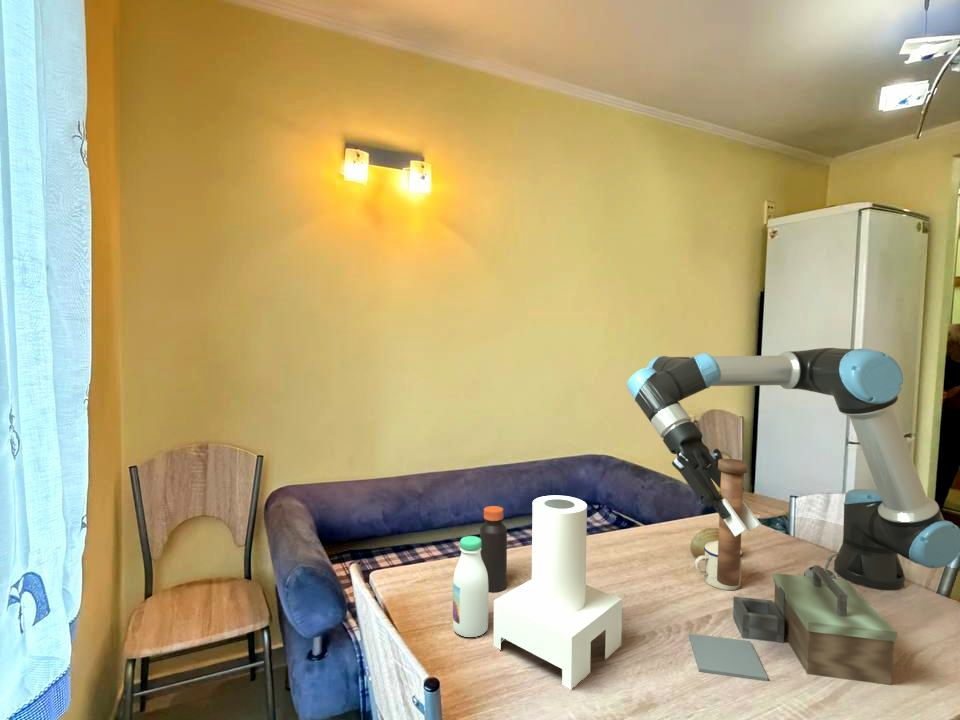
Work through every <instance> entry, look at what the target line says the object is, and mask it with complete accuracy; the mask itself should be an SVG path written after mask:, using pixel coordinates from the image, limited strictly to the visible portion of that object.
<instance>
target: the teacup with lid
mask: <svg viewBox="0 0 960 720" xmlns="http://www.w3.org/2000/svg"><path fill="white" fill-rule="evenodd" d="M704 550H705V555H702V556H699V557H698V558H695V561H694V567H695V571H697V573H698V574H700V575H702V576H703V577H704V578H703V579H704V581H705V583H706V584H708V585H709V586H711V587H713V588H716V589H719V590H723V591H735V590H738V589H740V588H741V585H742V559H743V555H744V553H743V551H742V549H741V552H740V576H739V585H737V586H727V585H724V584H721V583H720V582H718V581H717V565H718V541H713V542H708V543H707V544H706V545H705V547H704ZM703 560H704V570H703V571H702V570H701V569H700V562H702V561H703Z"/></svg>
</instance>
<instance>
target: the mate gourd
mask: <svg viewBox="0 0 960 720" xmlns="http://www.w3.org/2000/svg"><path fill="white" fill-rule="evenodd" d="M838 552H839V551H838ZM838 552H835V553H832V554H831V555H829V556H828V557H827V558H826V559H827V561H826V564H825V566H824V567H822V566H820V567H821V568H822V569H823V570H824V571H825V572H826V573H827V574H828V575H829V576H830V577H831V578H832V579H838V578H837V577H836V574H835V573H834V572H833V571H832V570H830V569H828V568H829V566H830V563H831V562H832V561H833V558H834V557H836V556H837V555H838V554H840V552H839V553H838ZM803 576H809V577H813V566H809V567H808V568H807V569H806V570H805V571H804V574H803Z"/></svg>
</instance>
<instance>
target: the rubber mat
mask: <svg viewBox="0 0 960 720" xmlns="http://www.w3.org/2000/svg"><path fill="white" fill-rule="evenodd" d="M688 639H689V642H690V645H691V649H692V653H693V656H694V660H695V663H696V666H697V669H698V672H700V673H707V674H715V675H722V676H729V677H736V678H742V679H743V678H744V679H749V680H756V681H758V680H759V681H765V682H768V680H769V678H768V676H767V673H766V672H765V669H764V667H763V665H762V662H761V661H760V658H759V657H758V654H757V653H756V651H755V649H754V646H753V644H752V642H751V640H744V639H736V638H730V637H729V638H727V637H722V636H721V637H719V636H713V635H705V634H703V635H702V634H695V633H688Z"/></svg>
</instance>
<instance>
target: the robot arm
mask: <svg viewBox="0 0 960 720" xmlns="http://www.w3.org/2000/svg"><path fill="white" fill-rule="evenodd" d="M903 382H904V374H903V371H902V369H901V366H900V365H899V364H898V362H897V361H896V360H895V359H894V358H893V357H892V356H890V355H889V354H887V353H885V352H883V351H879V350H873V349H869V348H838V347H824V348H814V349H805V350H795V351H783V352H781V353H780V354H779V355H728V356H727V355H726V356H725V355H722V356H718V355H717V356H715V355H714V356H712V355H711V354H709V353H707V352H703V353H699V354H698V355H692V356H668V355H661V356H656V357H654V358H652V359H651V360H650V361H649V363H648V364H647V367H643V368H641V369H639V370H637V371H636V372H634V373H633V374H632V375H631V376H630V377H629V378H628V380H627V385H626V387H627V388H628V389H627V390H628V391H629V393H630V395H631V396H632V398H633V399H634V402H635V403H636V404H637V405H638V407H639V408H640V409H641V410H642V412H643V414H644V415H645V416H646V418H647V420H649V422H650V423H651V425H652V426H653V428H654V430H655V431H656V432H657V434H658V435H659V437H660V438H662V441H663V444H664V445H665V447H667V450H668V451H669V452H670V454H673V455H676V458H675V459H674V460H672V462H671V465H672V466H673V467H674V469H676V470H677V471H678V472H679V473H680V474H681V476H682V477H683V479H684V481H685V482H686V483H687V484H688V486H689V487H690V489H691V490H692V491H693V493H694V494H695V496H696V497H697V499H698V500H699V502H701V504H703V505H705V506H706V507H708V508H711V507H713V508H714V509H715V511H716V513H717V514H718V515H720V517H721V518H722V519H723V520H724V521H725V523H726V524H727V526H728V527H729V528H730V530H731V531H732V533H733V534H734V536H738V535H739V534H741V535H742V533H745V531H746V530H747V531H748V532H752V531H753V530H755V529H757V528H758V527H760V526H761V525H762V523H761V522H760V521H759V519H758V518H757V516H756V515H755V514H754V512H753V511H752V510H751V508H750V506H749V505H748V503H747V502H746V501H745V499H744V498H743V505H742V521H741V520H740V518H739V517H738V515H737V514H736V512H735V511H734V510H733V508H732V507H731V505H730V504H729V503H728V501H727V500H726V499H722V500H721V496H720V491H718V489H717V487H718V488H719V489H720V488H721V471H720V470H719V469H718V460H719V459H724V458H723V455H722V452H721V451H720V450H719V449H718V448H715V449H713V450H710V449H709V447H707V446H706V445H705V444H704V442H702V439H703V433H702V432H701V429H699V427H698V426H697V425H696V424H695V422H693V421H692V418H691V417H690V415H689V414H688V412H687V411H686V410H685V408H684V407H683V406H682V405H681V403H680V402H681V401H682V400H684V399H686V398H689V397H691V396H693V395H696V394H698V393H700V392H701V391H704V390H706V389H709V388H710V387H738V386H739V387H740V386H741V387H743V386H745V387H746V386H749V387H752V386H753V387H754V386H756V387H758V386H780V387H781V388H783V389H784V390H801V391H809V392H814V393H818V394H822V395H827V396H832V397H833V398H834V402H835V404H836V406H837V409H838V411H839V413H840V414H843V415H845V416H848V417H849V419H850V421H851V423H852V426H853V430H854V432H855V434H856V438H857V440H858V442H859V444H860V448H861V450H862V453H863V456H864V458H865V461H866V463H867V466H868V469H869V471H870V473H871V476H872V479H873V482H874V485H875V487H876V489H869V488H865V489H864V488H856V489H850V490H848V491H847V492H846V493H845V498H844V502H843V527H842V528H843V531H842V535H843V536H842V544H841V546H840V548H839V549H838V552H837V553H839V552H840V554H838V555H836V556H835V558H834V560H833V561H834V562H833V563H834V564H833V571H834V572H835V574H837V575H838V576H839V577H840V578H842V579H843V580H846V581H847V582H851V583H854V584H857V585H859V586H864V587H867V588H872V589H876V590H883V591H884V590H885V591H886V590H887V591H893V590H896V591H897V590H900V589H903V588H904V587H905V583H906V581H905V579H906V577H905V573H904V570H903V566H902V564H901V561H900V558H899V556H900V557H901V556H902V557H903V558H905V559H907V560H909V561H911V562H913V563H914V564H918V565H920V566H923V567H926V568H928V569H939V568H940V569H942V568H944V567H947V566H949V565H950V564H951V563H953V562H954V561H955V560H956V559H957V558H958V557H959V554H960V528H959V527H958V526H957V525H956V524H954V523H953V522H952V521H949V520H945V519H944V516H943V514H942V512H941V509H940V506H939V504H938V502H937V501H936V500H934V499H933V498H931V497H928V496H927V494H926V492H925V489H924V487H923V484H922V482H921V481H922V480H921V479H920V476H919V473H918V471H917V468H916V465H915V463H914V460H913V457H912V454H911V452H910V449H909V447H908V443H907V441H906V438H905V436H904V434H903V430H902V427H901V425H900V422H899V420H898V417H897V415H896V412H895V409H894V407H895V405H896V404H897V403H898V402H899V394H900V393H901V390H902V387H901V385H903V384H904V383H903ZM714 483H715V484H714ZM716 486H717V487H716ZM744 490H745V487H744V486H743V491H744Z"/></svg>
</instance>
